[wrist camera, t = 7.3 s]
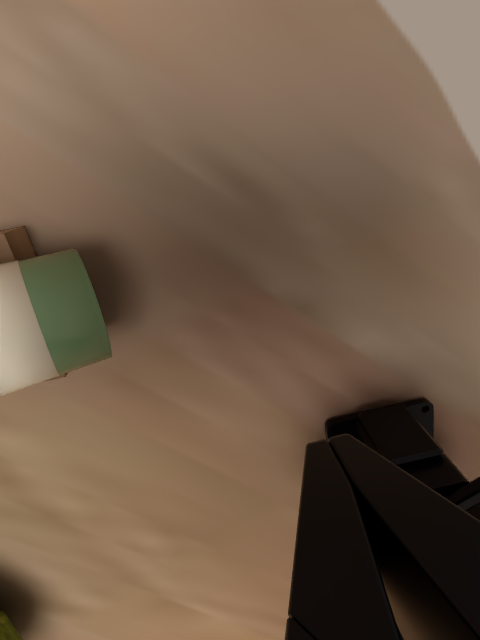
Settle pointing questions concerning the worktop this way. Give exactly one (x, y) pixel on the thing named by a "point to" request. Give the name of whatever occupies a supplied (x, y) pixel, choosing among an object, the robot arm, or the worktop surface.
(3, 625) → the lettuce
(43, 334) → the bottle
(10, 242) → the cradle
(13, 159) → the worktop surface
